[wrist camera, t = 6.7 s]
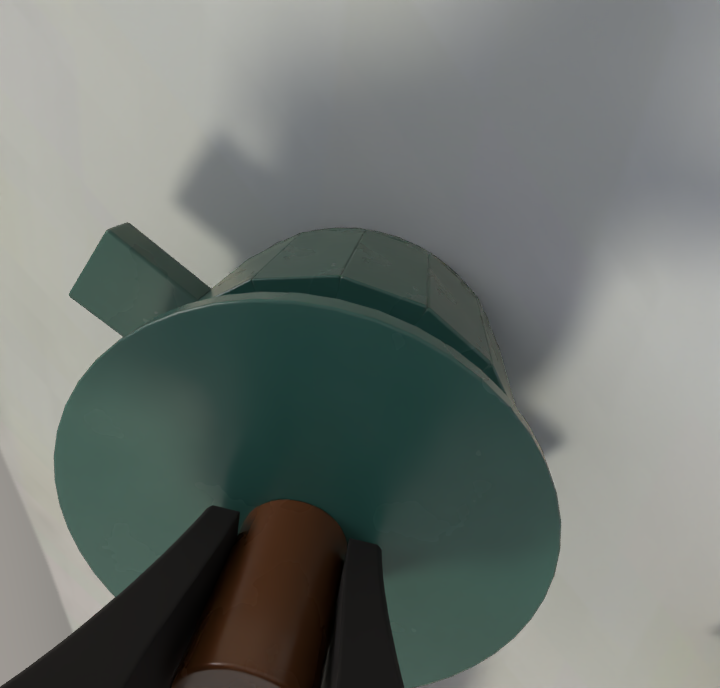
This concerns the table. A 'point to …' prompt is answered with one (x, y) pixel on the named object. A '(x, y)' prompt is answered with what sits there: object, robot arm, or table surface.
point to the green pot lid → (311, 482)
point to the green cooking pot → (297, 284)
